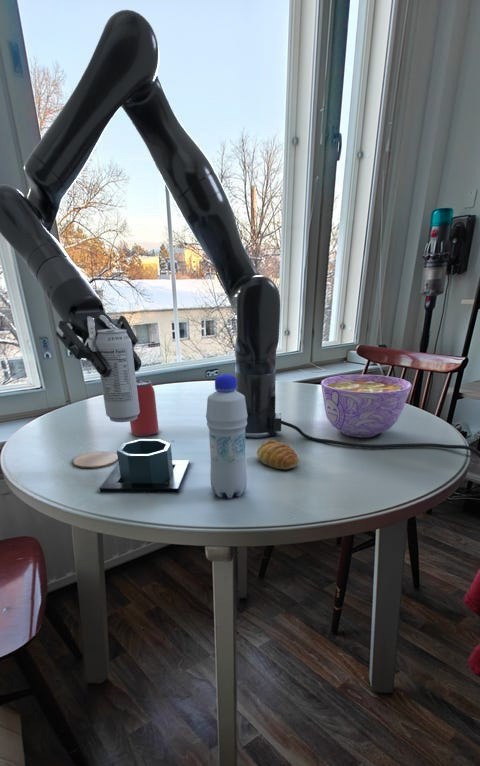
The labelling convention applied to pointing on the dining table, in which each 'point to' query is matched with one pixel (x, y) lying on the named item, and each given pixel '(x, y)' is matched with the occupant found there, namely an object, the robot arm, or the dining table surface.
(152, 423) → the beer can
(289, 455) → the pastry
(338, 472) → the dining table surface
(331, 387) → the bowl of food
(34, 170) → the robot arm
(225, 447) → the bottle
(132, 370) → the energy drink can
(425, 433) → the dining table surface
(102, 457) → the cork coaster
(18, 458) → the dining table surface
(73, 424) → the dining table surface
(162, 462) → the can holder
